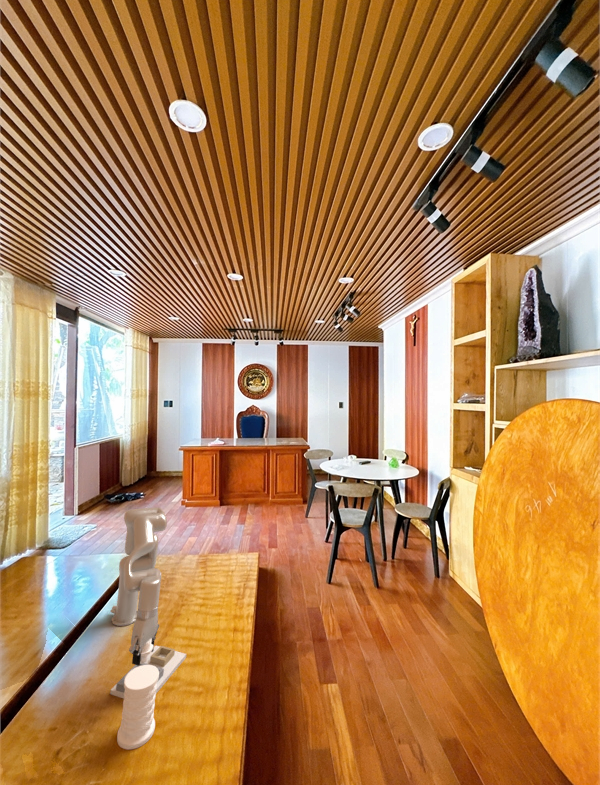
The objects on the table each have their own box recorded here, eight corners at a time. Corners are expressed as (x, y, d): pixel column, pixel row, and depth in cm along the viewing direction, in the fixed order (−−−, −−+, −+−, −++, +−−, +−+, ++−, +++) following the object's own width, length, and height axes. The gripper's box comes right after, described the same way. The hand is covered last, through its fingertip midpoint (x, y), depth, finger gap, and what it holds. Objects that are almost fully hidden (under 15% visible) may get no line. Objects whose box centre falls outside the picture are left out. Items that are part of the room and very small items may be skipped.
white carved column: (147, 749, 107) (153, 690, 108) (110, 749, 106) (116, 690, 107) (159, 716, 118) (164, 664, 119) (126, 716, 117) (131, 663, 119)
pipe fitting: (154, 654, 135) (156, 634, 135) (146, 667, 127) (149, 646, 128) (138, 653, 134) (140, 633, 135) (130, 667, 127) (132, 645, 128)
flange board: (110, 694, 126) (111, 683, 126) (155, 648, 151) (156, 639, 151) (145, 706, 122) (146, 694, 122) (186, 657, 147) (186, 648, 147)
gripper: (154, 597, 142) (149, 641, 140) (123, 621, 125) (118, 670, 123) (169, 601, 140) (165, 645, 138) (140, 625, 123) (135, 676, 122)
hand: (142, 657), depth 131 cm, fingers closed on pipe fitting, 7 cm apart
